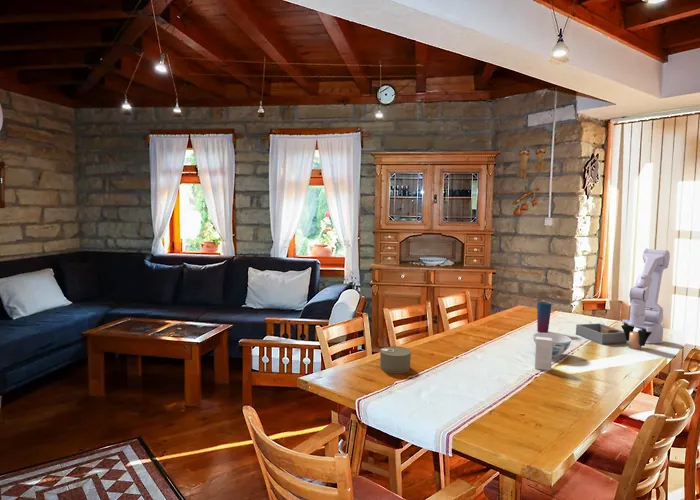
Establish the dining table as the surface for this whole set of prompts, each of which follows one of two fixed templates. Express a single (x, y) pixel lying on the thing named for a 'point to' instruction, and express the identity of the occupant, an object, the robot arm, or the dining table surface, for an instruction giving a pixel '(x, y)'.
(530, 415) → the dining table surface
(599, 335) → the tote
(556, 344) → the chinaware
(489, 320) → the dining table surface
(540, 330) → the cup
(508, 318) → the dining table surface
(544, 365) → the skincare box
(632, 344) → the terracotta cylinder
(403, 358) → the can
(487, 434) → the dining table surface
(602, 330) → the walnut cube
